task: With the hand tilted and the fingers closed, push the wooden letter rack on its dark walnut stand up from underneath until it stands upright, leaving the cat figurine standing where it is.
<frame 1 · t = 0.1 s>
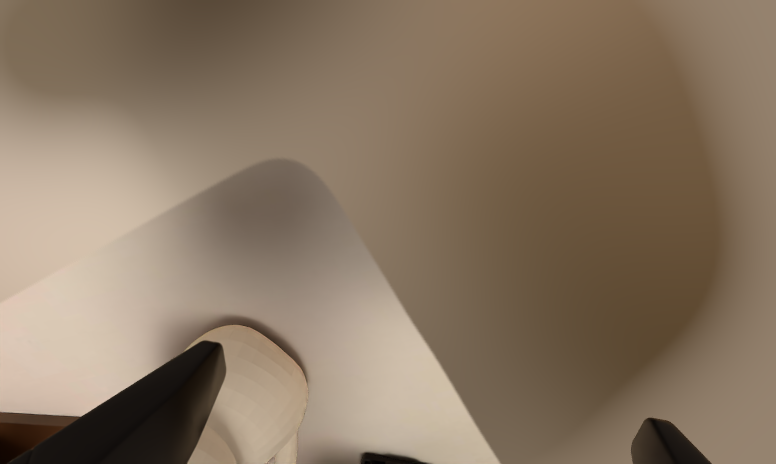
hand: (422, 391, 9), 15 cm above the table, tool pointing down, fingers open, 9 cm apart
stand: (49, 454, 43), on the table
cat figurine: (264, 366, 32), on the table
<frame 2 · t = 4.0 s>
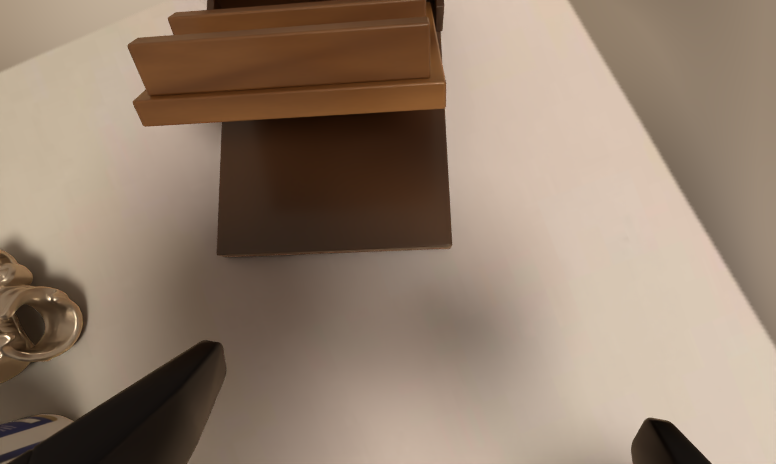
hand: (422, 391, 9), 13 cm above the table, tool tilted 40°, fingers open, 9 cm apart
wooden letter rack: (308, 31, 19), point 6 cm above the table, hinge at 40.0°
stand: (334, 127, 25), on the table
ornament: (22, 315, 24), on the table
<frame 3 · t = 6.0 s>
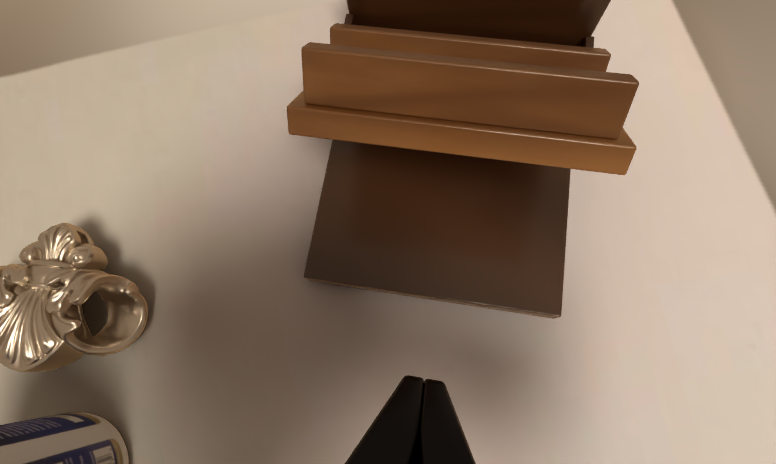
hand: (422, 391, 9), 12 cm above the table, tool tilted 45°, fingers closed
wooden letter rack: (461, 66, 18), point 6 cm above the table, hinge at 40.0°
stand: (446, 166, 23), on the table
ornament: (83, 300, 23), on the table
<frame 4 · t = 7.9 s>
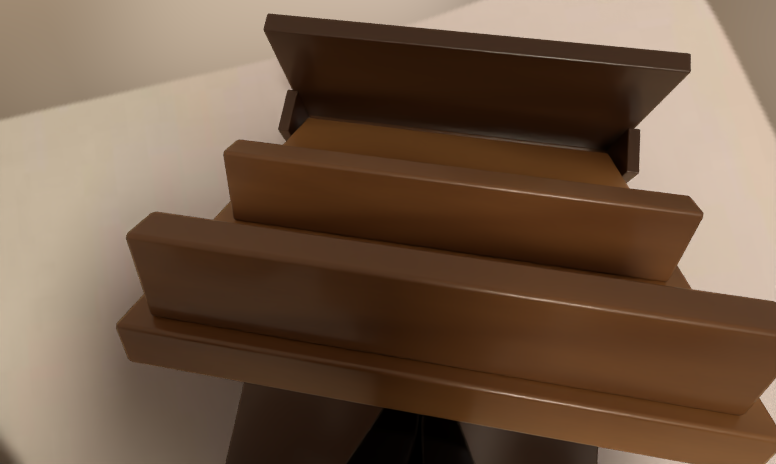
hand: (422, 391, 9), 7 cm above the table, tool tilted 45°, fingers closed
wooden letter rack: (446, 196, 12), point 6 cm above the table, hinge at 42.3°
stand: (429, 298, 17), on the table
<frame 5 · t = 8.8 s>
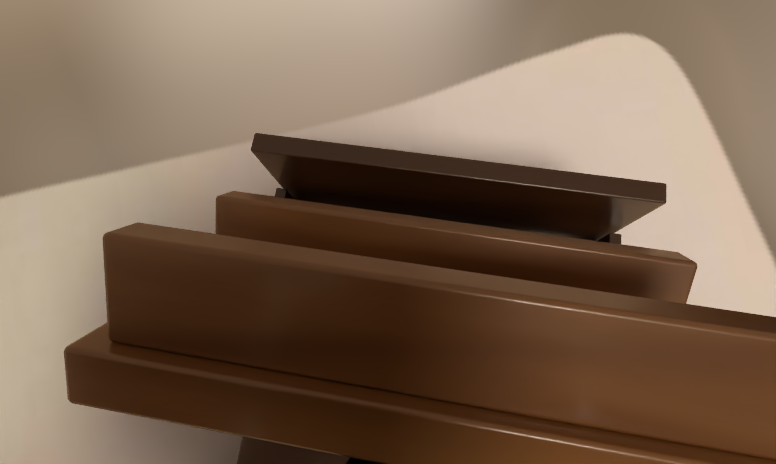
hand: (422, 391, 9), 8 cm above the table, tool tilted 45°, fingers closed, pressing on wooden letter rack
wooden letter rack: (437, 263, 11), point 7 cm above the table, hinge at 61.4°, touching gripper
stand: (416, 388, 17), on the table
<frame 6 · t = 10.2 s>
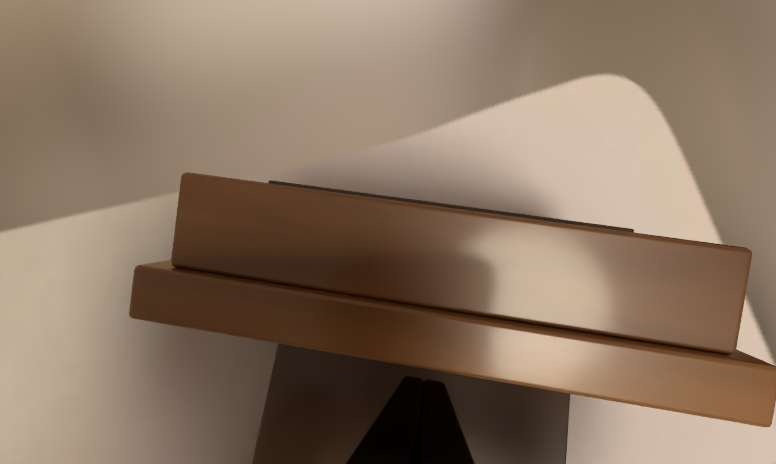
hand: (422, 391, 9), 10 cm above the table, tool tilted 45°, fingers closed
wooden letter rack: (436, 260, 13), point 7 cm above the table, hinge at 73.9°
stand: (413, 405, 19), on the table
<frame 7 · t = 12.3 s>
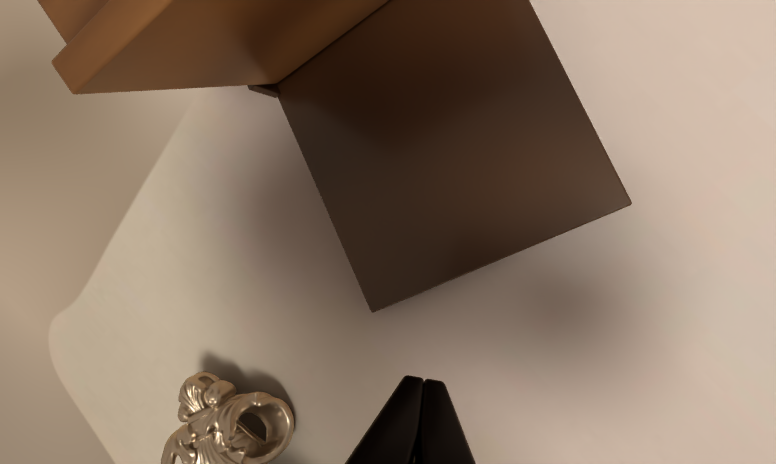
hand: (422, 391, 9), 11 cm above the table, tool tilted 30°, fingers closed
stand: (425, 122, 20), on the table
ornament: (243, 415, 26), on the table
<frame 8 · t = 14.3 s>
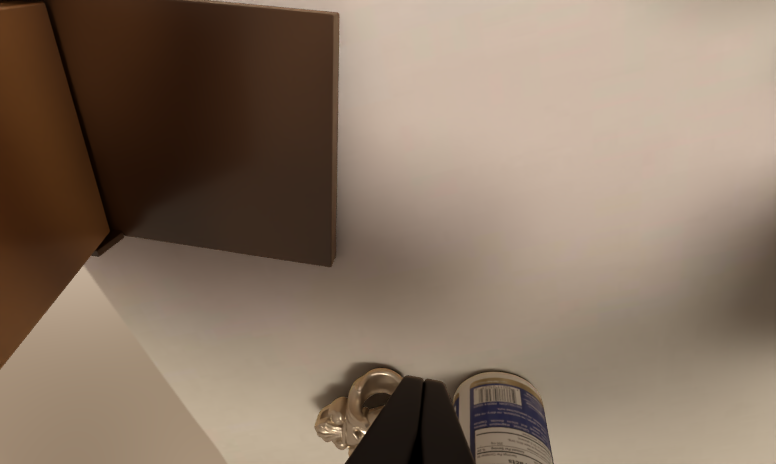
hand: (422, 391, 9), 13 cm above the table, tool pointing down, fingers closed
pill bottle: (496, 397, 28), on the table
stand: (198, 135, 22), on the table
ornament: (374, 402, 30), on the table
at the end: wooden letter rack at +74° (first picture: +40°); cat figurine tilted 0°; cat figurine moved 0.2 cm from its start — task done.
